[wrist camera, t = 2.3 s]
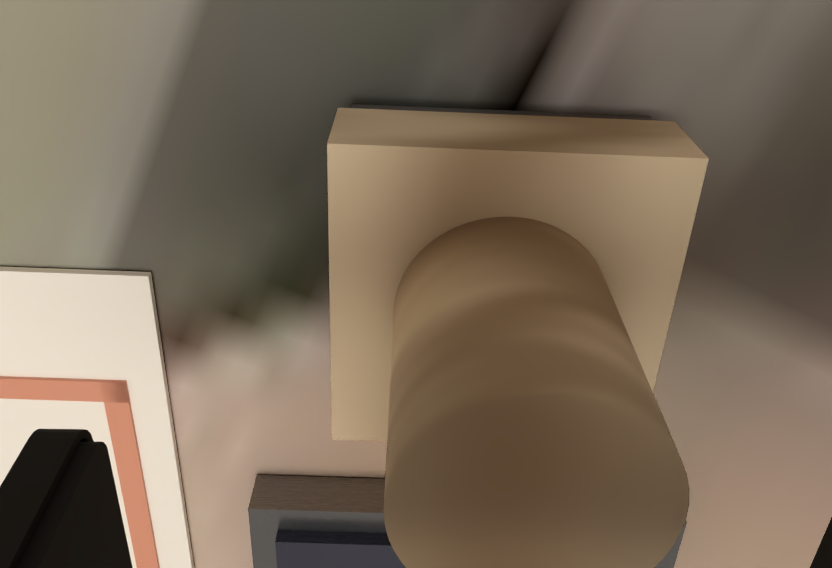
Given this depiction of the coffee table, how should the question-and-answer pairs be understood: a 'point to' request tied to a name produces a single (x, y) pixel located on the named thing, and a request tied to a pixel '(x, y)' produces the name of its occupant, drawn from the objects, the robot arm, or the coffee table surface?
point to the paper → (96, 391)
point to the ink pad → (329, 524)
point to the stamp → (511, 328)
